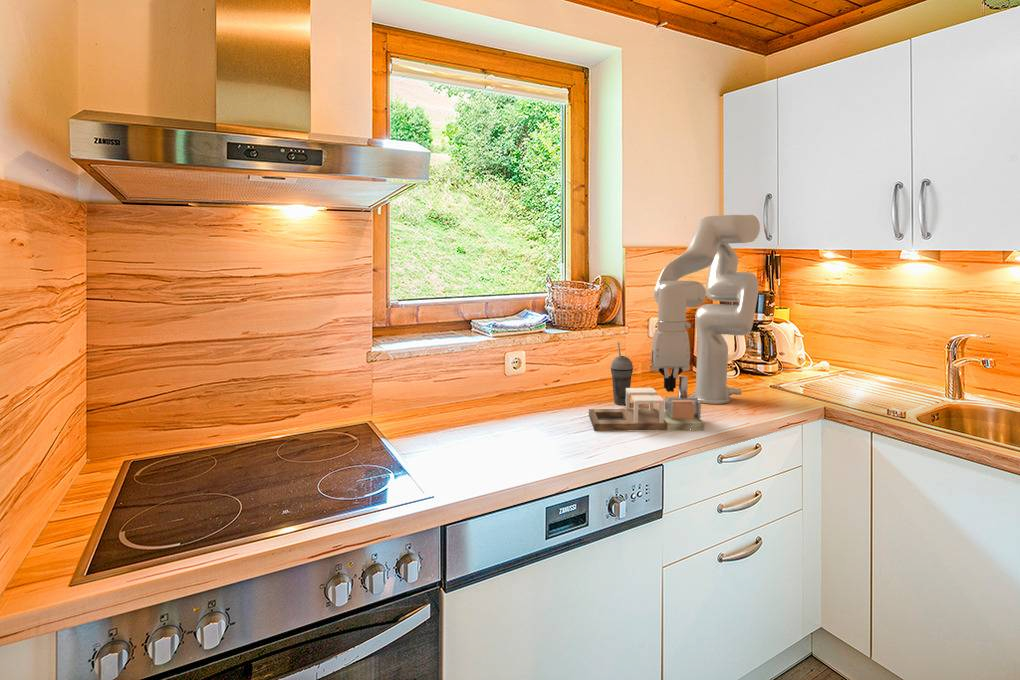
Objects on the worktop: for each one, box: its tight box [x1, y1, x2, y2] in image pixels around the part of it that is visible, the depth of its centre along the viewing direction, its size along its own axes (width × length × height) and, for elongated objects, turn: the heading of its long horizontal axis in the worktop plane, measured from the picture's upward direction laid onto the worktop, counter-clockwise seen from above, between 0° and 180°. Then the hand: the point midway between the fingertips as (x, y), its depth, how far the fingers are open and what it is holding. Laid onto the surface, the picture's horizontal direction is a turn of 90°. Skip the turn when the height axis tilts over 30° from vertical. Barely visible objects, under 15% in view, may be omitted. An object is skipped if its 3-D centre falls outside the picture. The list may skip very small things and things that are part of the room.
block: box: [671, 400, 694, 419], centre depth 160 cm, size 6×6×4 cm
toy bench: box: [625, 387, 665, 423], centre depth 160 cm, size 8×14×6 cm, turn 178°
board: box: [588, 408, 705, 432], centre depth 160 cm, size 30×14×2 cm, turn 88°
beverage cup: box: [610, 341, 634, 406], centre depth 180 cm, size 7×7×20 cm
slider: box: [664, 375, 702, 419], centre depth 159 cm, size 8×7×11 cm
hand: (669, 390), depth 159 cm, fingers closed
